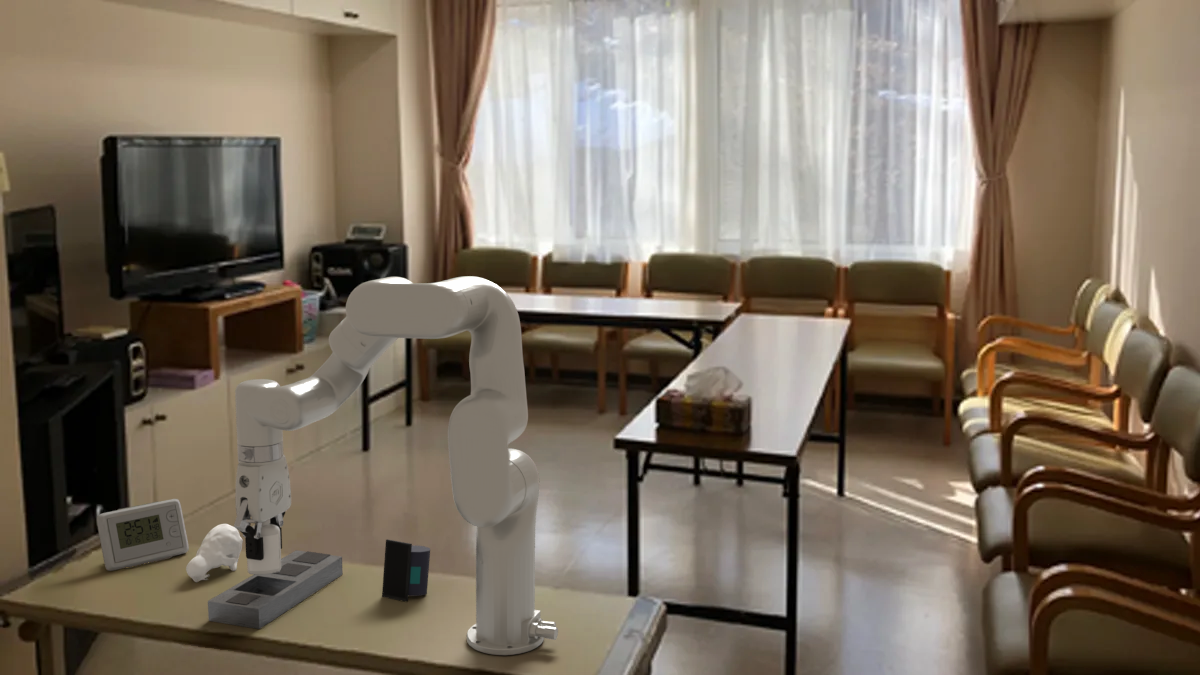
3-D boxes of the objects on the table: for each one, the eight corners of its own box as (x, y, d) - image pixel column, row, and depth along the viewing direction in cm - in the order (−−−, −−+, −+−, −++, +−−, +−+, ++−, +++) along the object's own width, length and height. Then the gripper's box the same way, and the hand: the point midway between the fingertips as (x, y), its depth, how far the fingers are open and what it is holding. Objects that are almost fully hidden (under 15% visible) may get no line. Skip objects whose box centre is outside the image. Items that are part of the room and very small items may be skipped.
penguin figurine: (244, 522, 206) (200, 548, 195) (248, 563, 208) (205, 591, 197) (217, 518, 208) (172, 543, 198) (221, 559, 211) (178, 586, 200)
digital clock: (103, 575, 203) (99, 520, 201) (95, 560, 210) (92, 507, 208) (193, 559, 211) (190, 506, 210) (183, 545, 219) (180, 494, 217)
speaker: (400, 604, 190) (402, 546, 189) (381, 596, 194) (383, 539, 193) (435, 597, 195) (437, 540, 195) (416, 589, 199) (418, 534, 199)
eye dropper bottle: (273, 577, 186) (270, 509, 184) (243, 574, 187) (240, 507, 185) (285, 568, 190) (283, 502, 188) (256, 565, 191) (253, 499, 190)
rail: (342, 574, 204) (342, 556, 204) (259, 629, 180) (258, 608, 179) (296, 567, 207) (296, 549, 207) (208, 620, 183) (207, 600, 182)
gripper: (249, 466, 176) (253, 573, 179) (307, 442, 192) (310, 540, 195) (210, 462, 178) (214, 567, 181) (271, 438, 194) (274, 535, 197)
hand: (264, 552), depth 188 cm, fingers closed on eye dropper bottle, 4 cm apart
